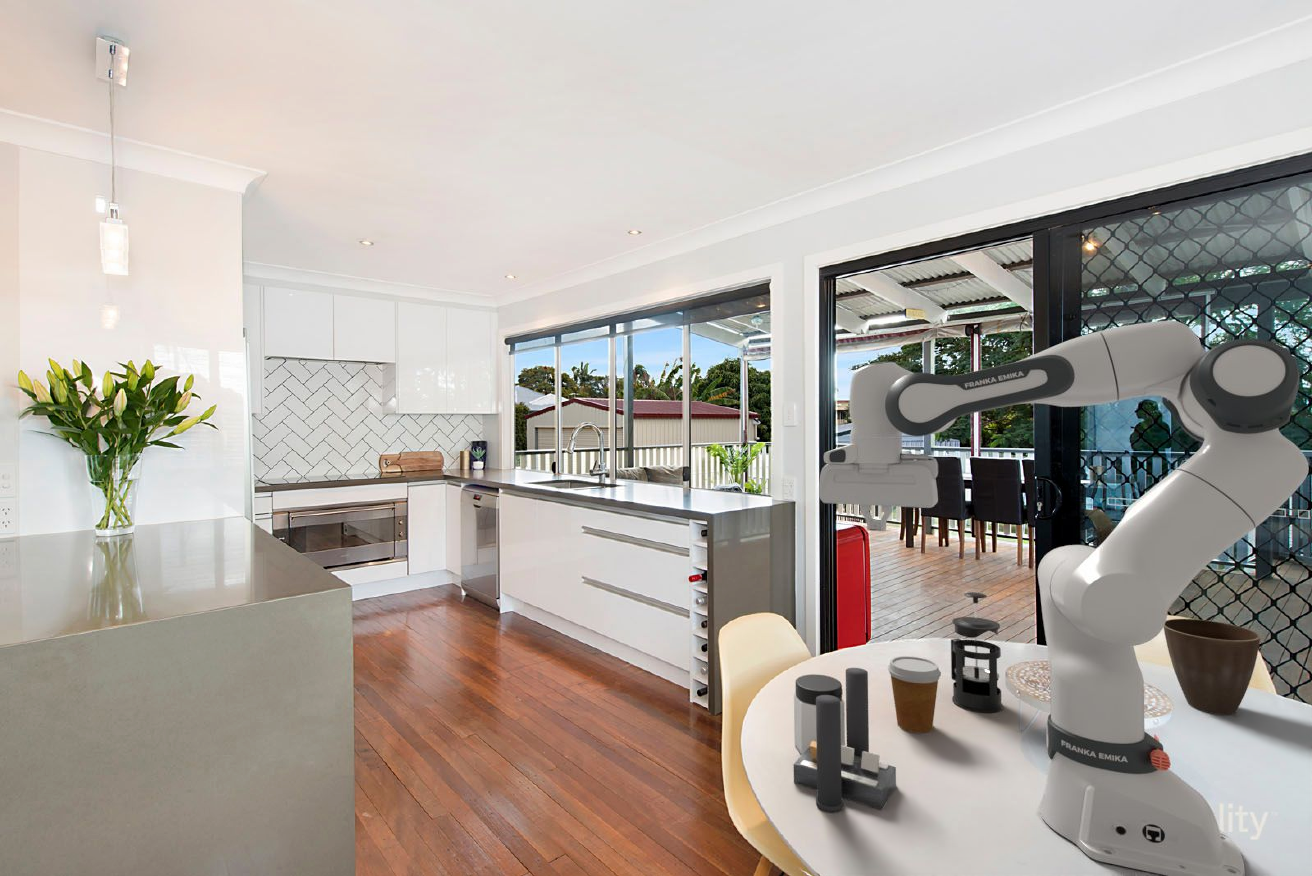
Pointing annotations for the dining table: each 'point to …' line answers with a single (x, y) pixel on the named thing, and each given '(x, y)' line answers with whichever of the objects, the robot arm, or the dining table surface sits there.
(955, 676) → the french press
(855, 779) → the breaker panel
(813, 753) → the tripped paddle
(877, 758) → the white block
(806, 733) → the jar
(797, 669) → the dining table surface
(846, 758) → the white block
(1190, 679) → the plant pot
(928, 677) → the disposable coffee cup
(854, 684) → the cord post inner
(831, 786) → the cord post outer
